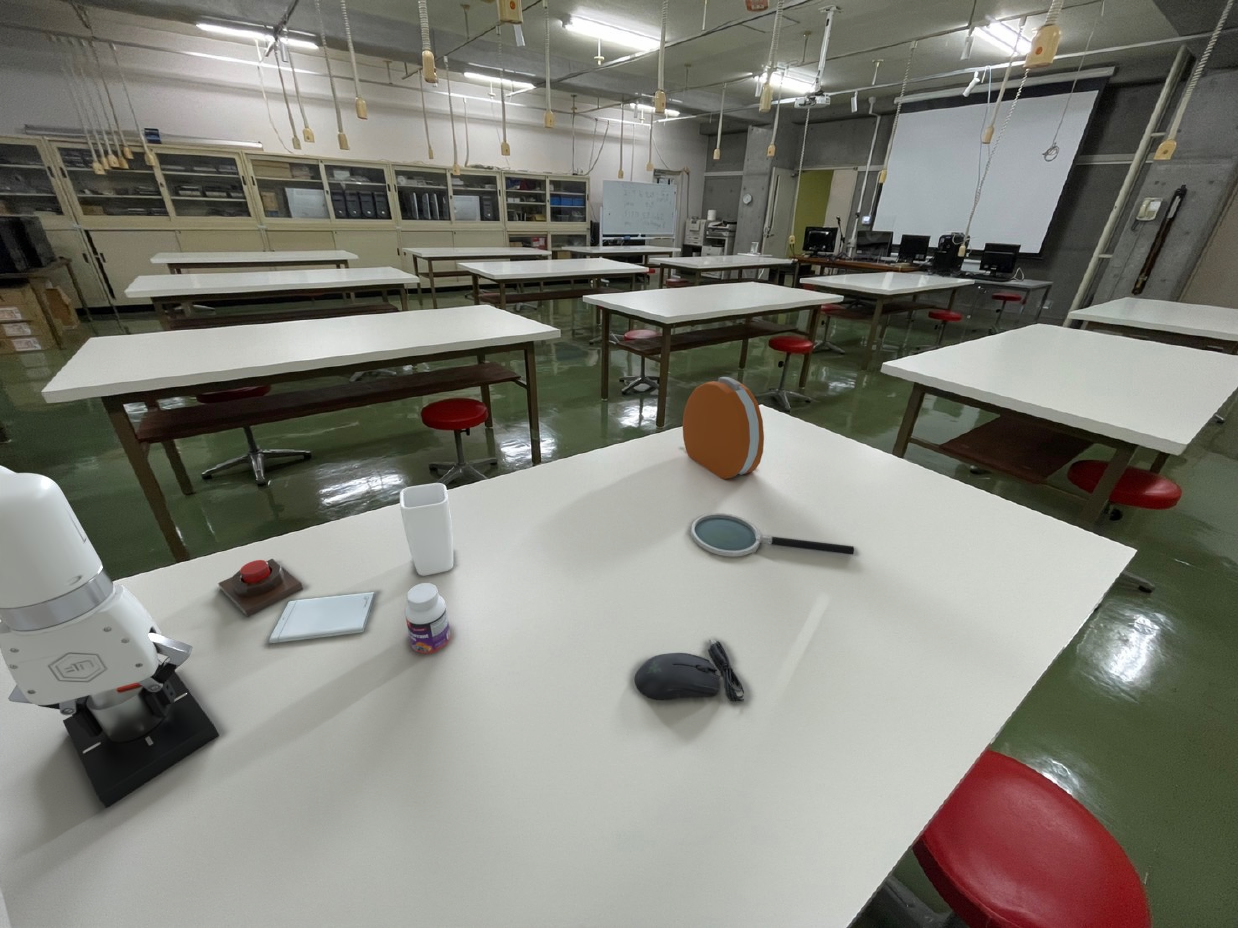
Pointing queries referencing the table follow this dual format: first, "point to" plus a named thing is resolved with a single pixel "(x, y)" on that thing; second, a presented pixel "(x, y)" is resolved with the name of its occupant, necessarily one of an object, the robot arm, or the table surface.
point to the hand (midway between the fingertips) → (133, 715)
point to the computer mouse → (687, 675)
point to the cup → (428, 527)
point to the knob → (123, 712)
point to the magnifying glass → (745, 537)
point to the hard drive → (323, 617)
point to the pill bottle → (426, 618)
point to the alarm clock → (724, 428)
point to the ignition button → (255, 571)
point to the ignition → (260, 589)
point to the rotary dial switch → (142, 747)
